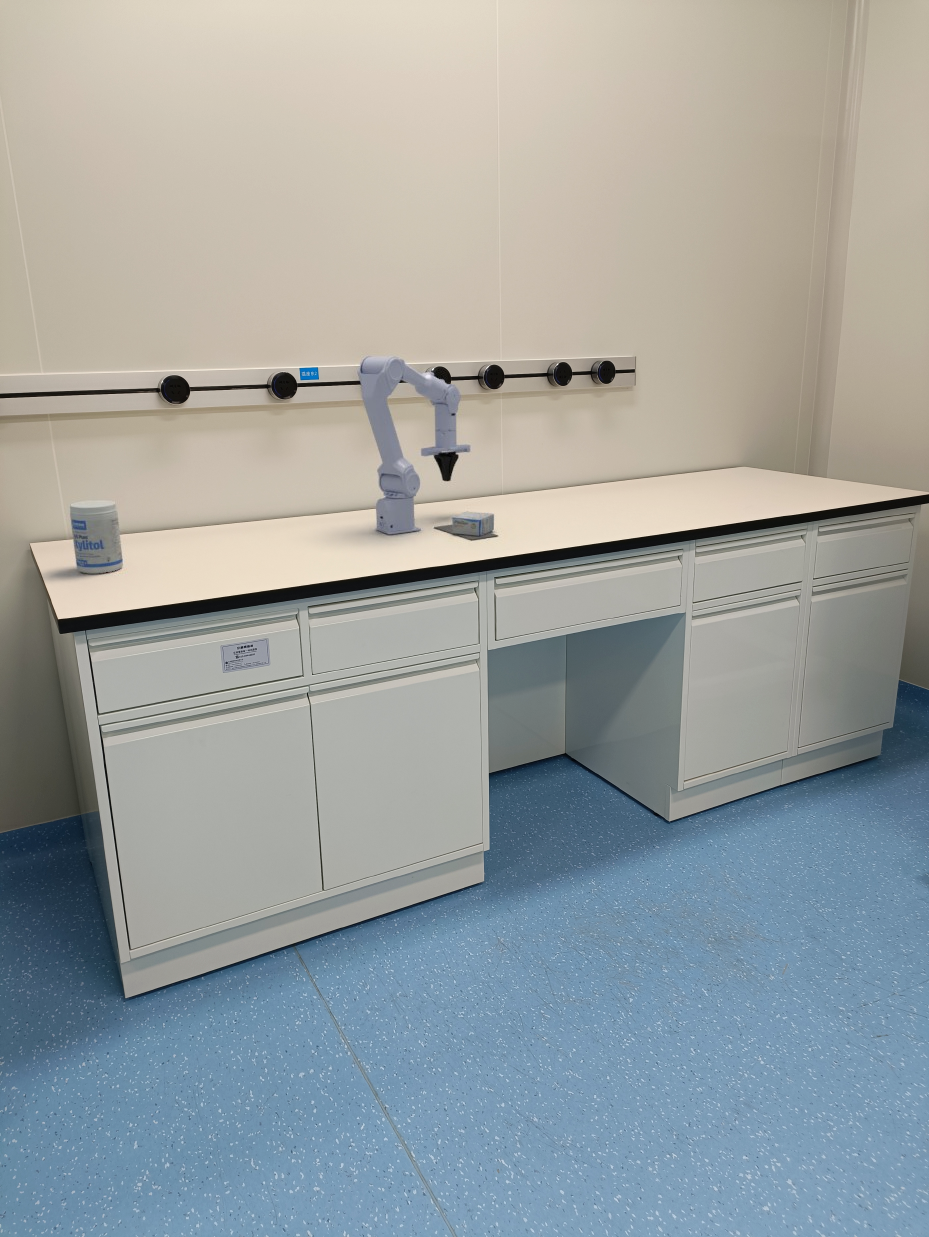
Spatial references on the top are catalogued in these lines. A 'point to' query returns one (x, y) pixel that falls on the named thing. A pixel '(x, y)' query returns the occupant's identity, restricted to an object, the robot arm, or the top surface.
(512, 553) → the top surface
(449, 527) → the rubber mat
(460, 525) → the medicine box
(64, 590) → the top surface
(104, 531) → the supplement tub
